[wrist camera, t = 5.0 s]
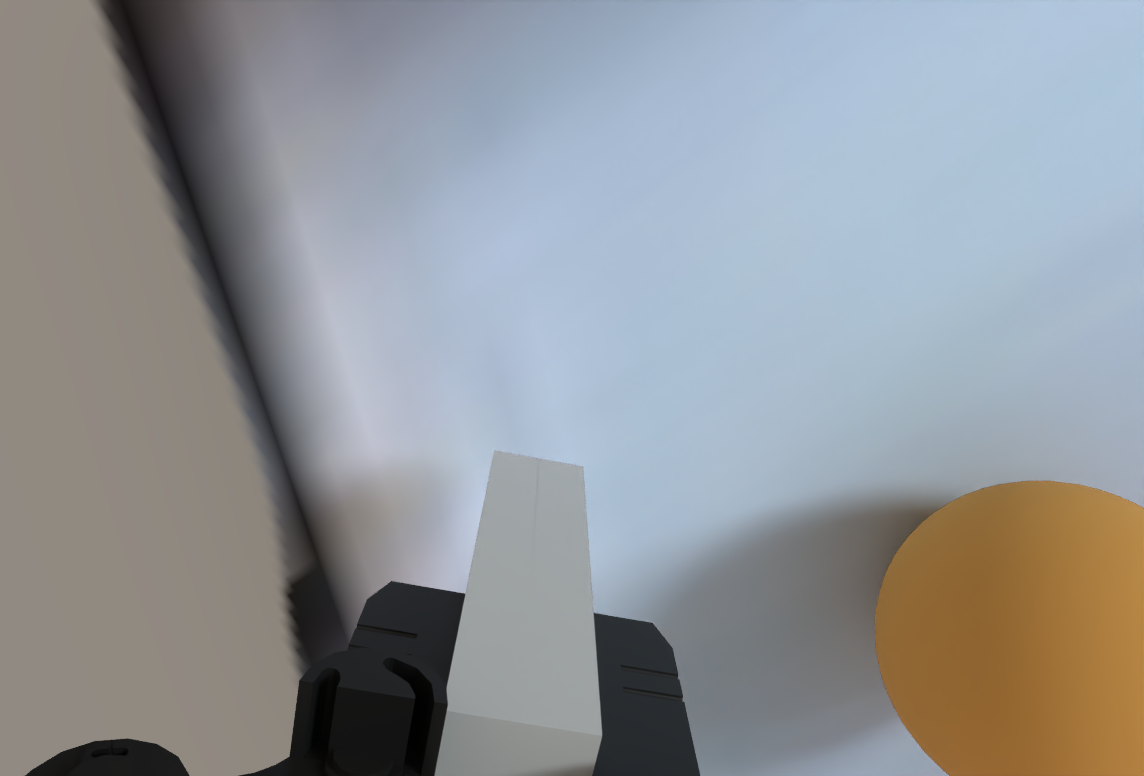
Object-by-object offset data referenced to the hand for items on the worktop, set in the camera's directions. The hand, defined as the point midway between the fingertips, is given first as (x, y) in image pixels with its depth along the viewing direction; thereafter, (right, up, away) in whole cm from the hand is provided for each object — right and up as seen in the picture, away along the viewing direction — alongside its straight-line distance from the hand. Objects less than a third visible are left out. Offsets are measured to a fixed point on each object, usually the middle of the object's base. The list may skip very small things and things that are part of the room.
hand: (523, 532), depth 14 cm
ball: (+9, -2, 0) cm, 9 cm away
